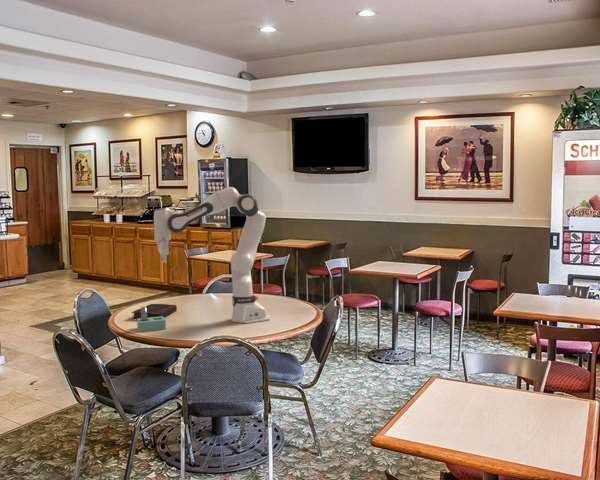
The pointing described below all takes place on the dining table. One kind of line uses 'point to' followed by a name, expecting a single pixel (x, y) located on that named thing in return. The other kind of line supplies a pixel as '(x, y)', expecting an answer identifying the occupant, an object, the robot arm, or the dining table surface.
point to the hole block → (151, 324)
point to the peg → (144, 313)
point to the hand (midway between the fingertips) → (163, 261)
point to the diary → (156, 310)
